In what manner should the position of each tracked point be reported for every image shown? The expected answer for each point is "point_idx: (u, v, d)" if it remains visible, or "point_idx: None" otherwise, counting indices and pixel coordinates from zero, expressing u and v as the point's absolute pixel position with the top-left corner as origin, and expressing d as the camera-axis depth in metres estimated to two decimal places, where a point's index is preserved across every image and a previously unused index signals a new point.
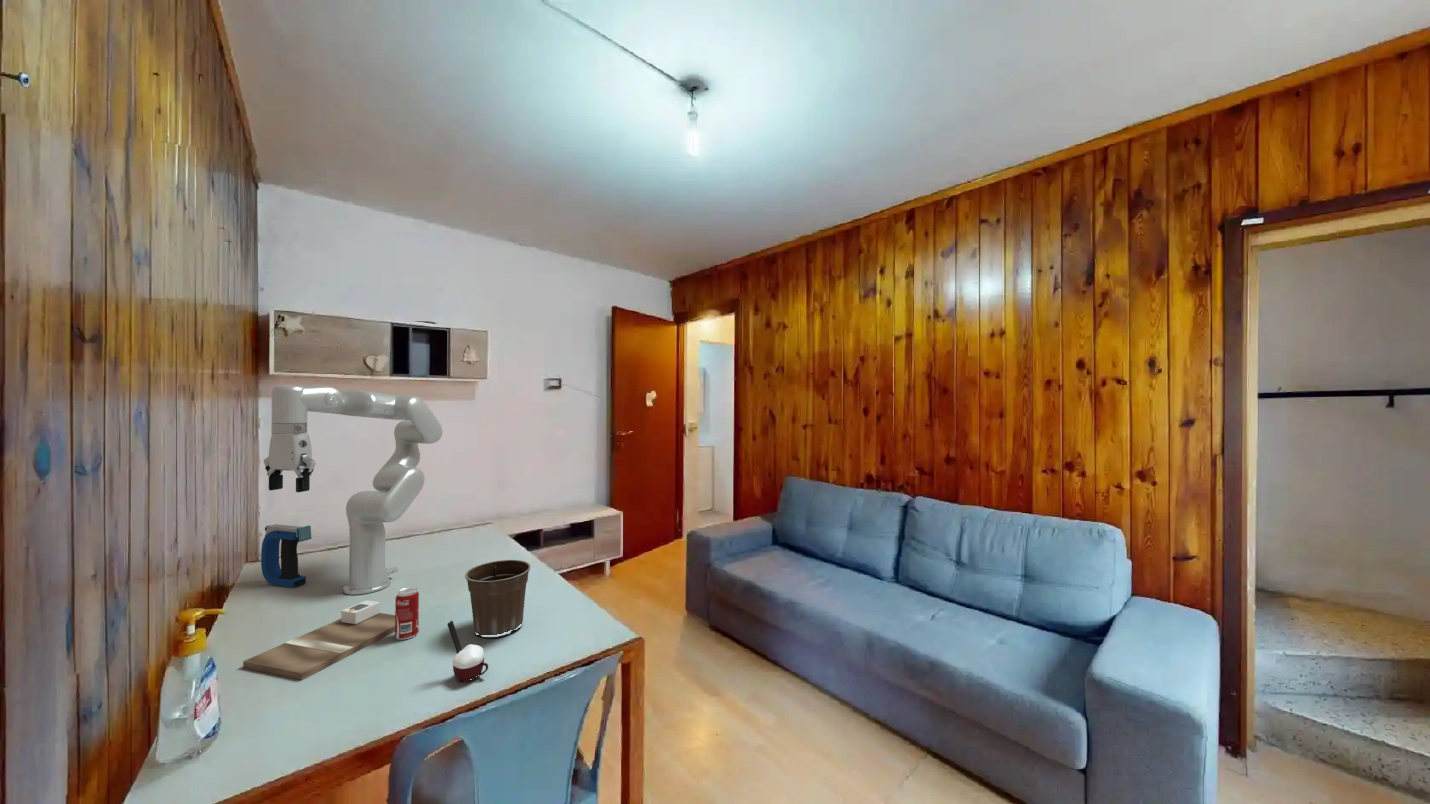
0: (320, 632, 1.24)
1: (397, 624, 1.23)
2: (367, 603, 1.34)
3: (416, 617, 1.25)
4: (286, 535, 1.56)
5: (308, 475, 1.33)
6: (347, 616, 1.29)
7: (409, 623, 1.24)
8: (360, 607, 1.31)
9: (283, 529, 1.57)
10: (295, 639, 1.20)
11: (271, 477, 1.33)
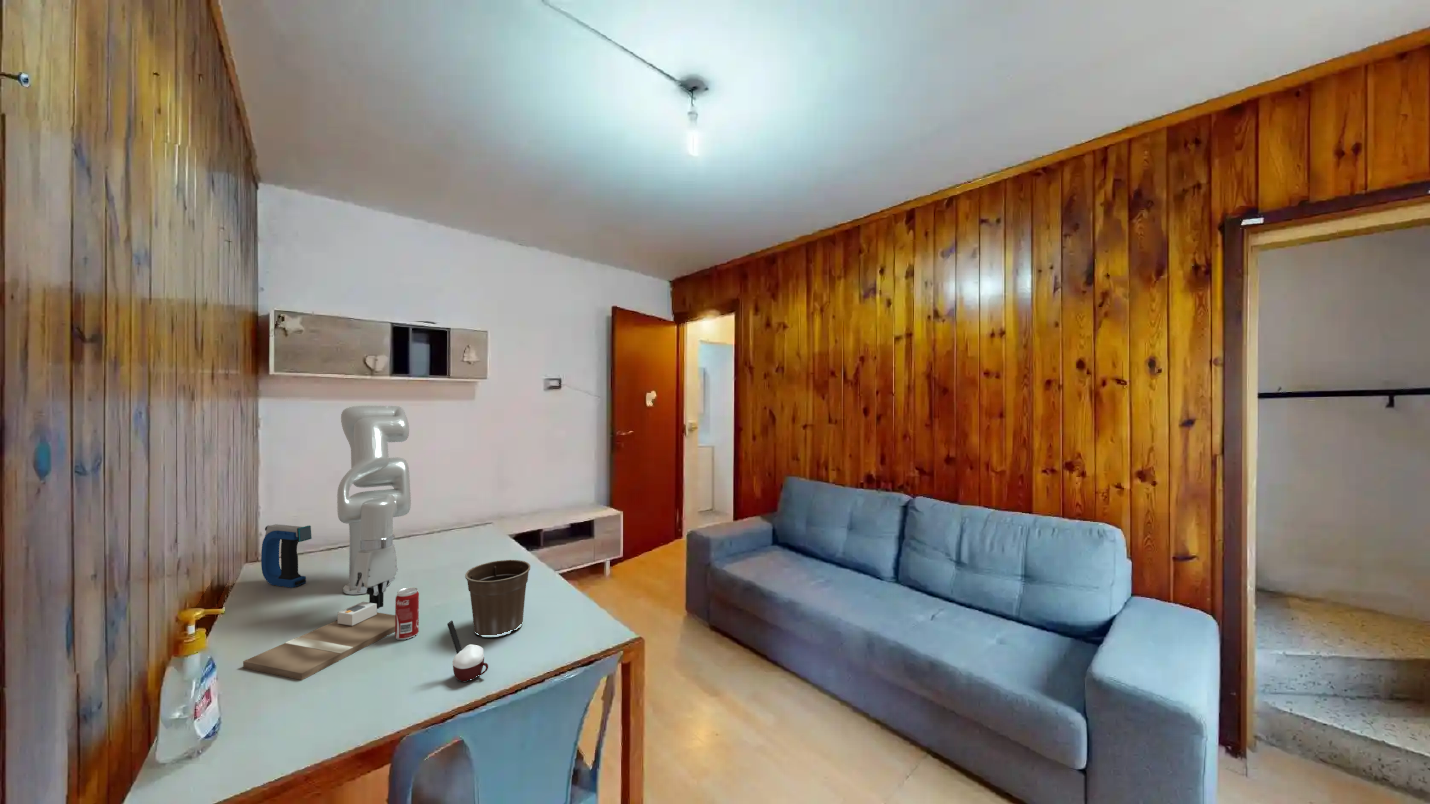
0: (320, 632, 1.24)
1: (397, 624, 1.23)
2: (364, 604, 1.33)
3: (416, 617, 1.25)
4: (286, 535, 1.56)
5: None
6: (343, 618, 1.28)
7: (409, 623, 1.24)
8: (357, 608, 1.30)
9: (283, 529, 1.57)
10: (295, 639, 1.20)
11: None
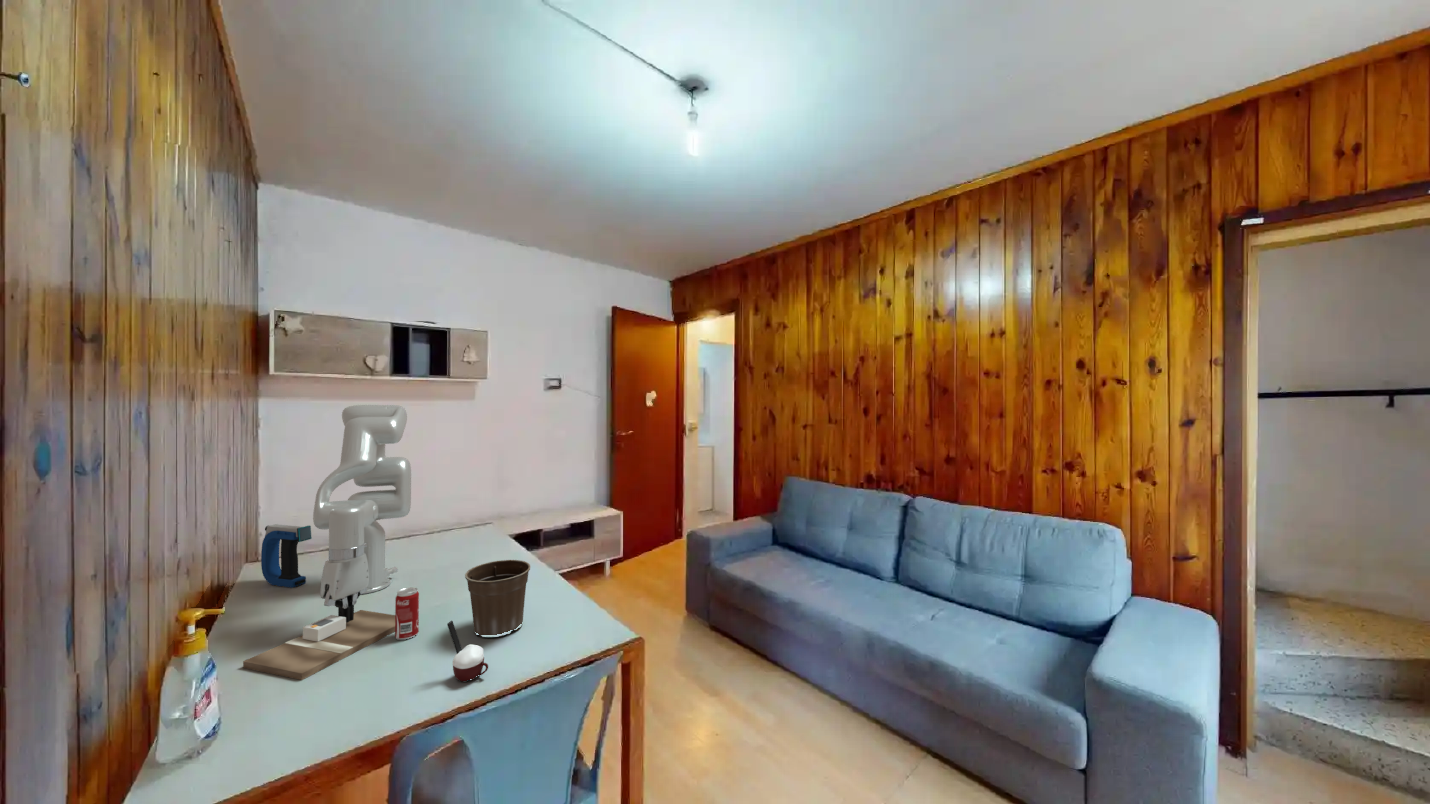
0: None
1: (397, 624, 1.23)
2: (332, 618, 1.25)
3: (416, 617, 1.25)
4: (286, 535, 1.56)
5: None
6: (309, 633, 1.19)
7: (409, 623, 1.24)
8: (324, 623, 1.22)
9: (283, 529, 1.57)
10: (295, 639, 1.20)
11: None
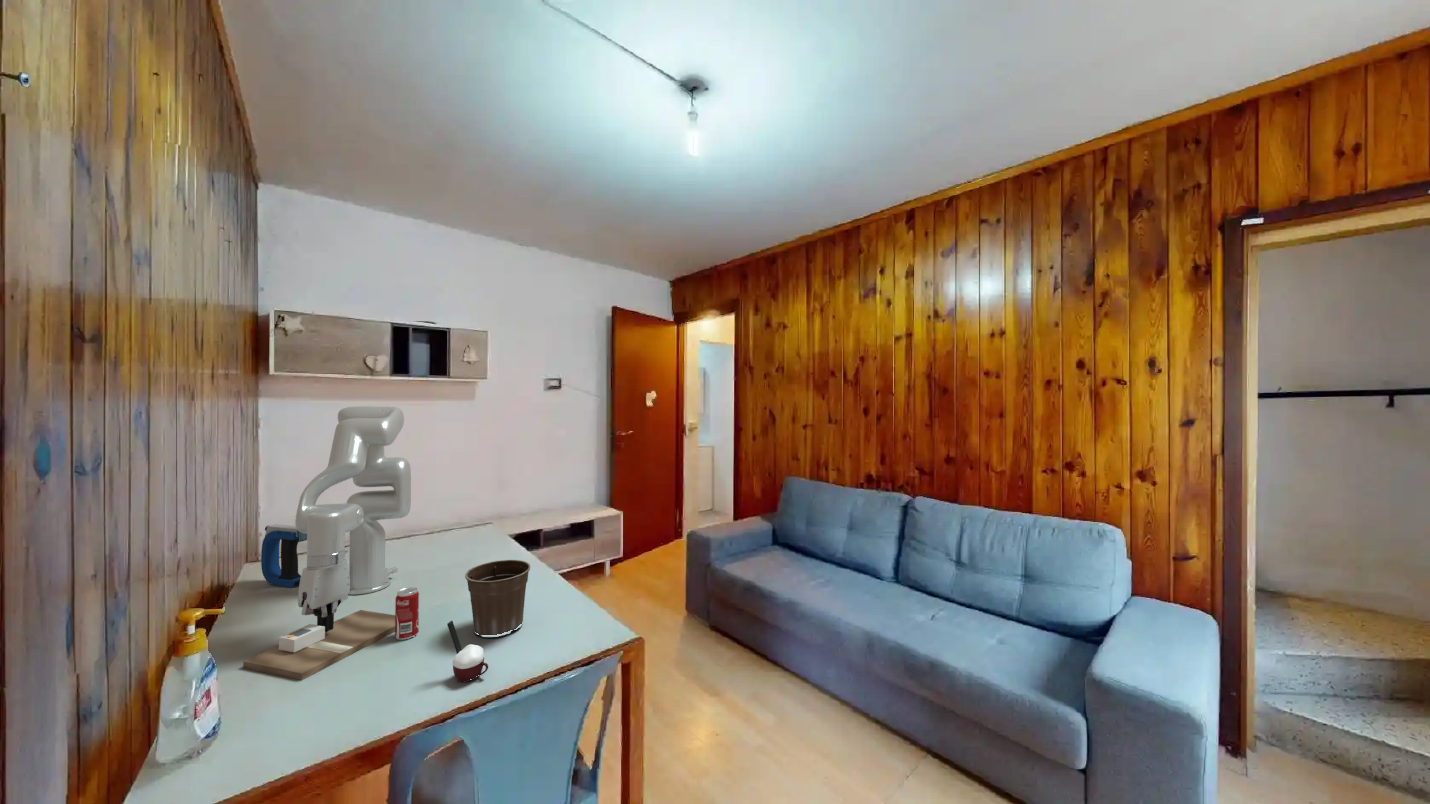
0: None
1: (397, 624, 1.23)
2: (310, 627, 1.20)
3: (416, 617, 1.25)
4: (286, 535, 1.56)
5: None
6: (285, 644, 1.14)
7: (409, 623, 1.24)
8: (301, 633, 1.17)
9: (283, 529, 1.57)
10: None
11: None
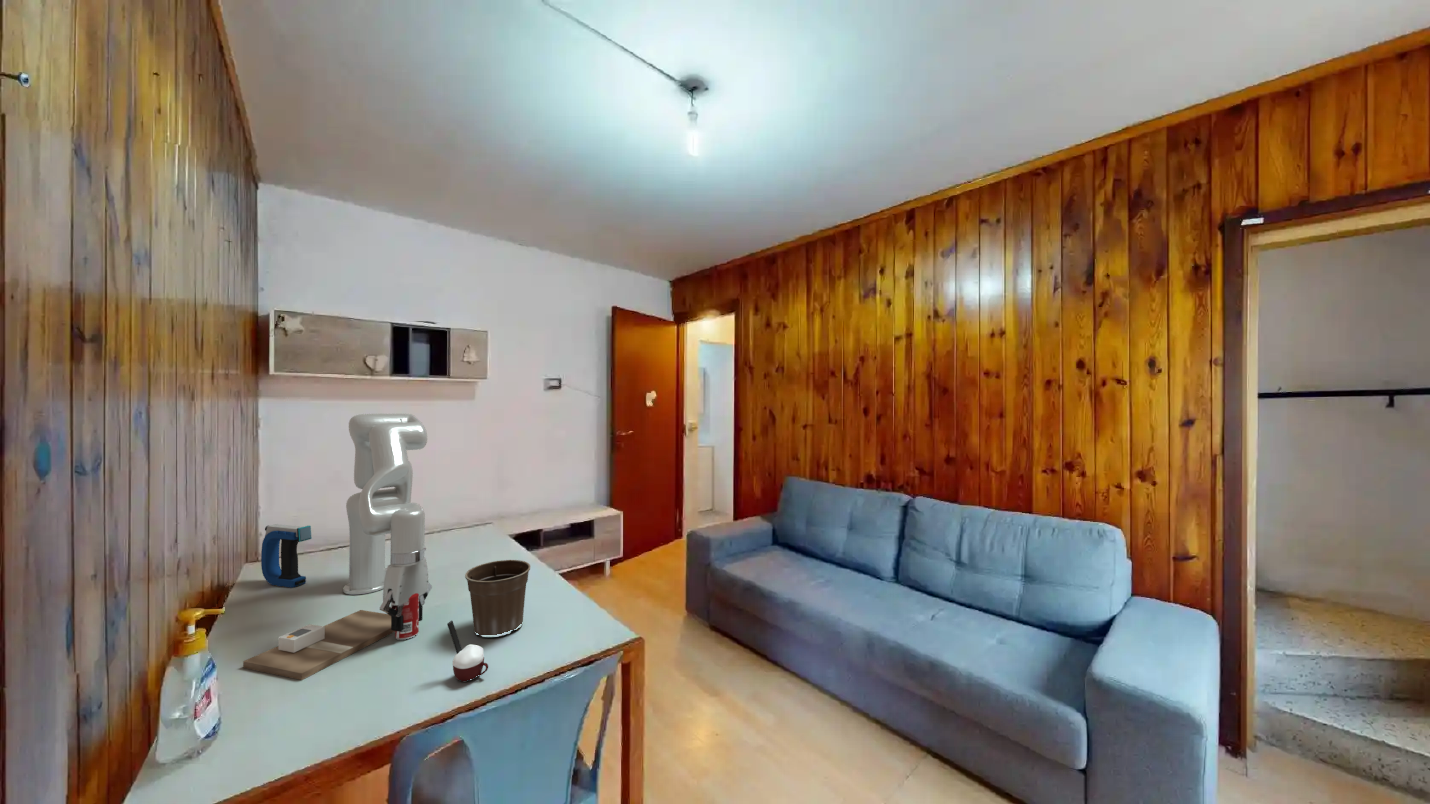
0: None
1: None
2: (310, 628, 1.19)
3: (416, 617, 1.25)
4: (286, 535, 1.56)
5: None
6: (285, 644, 1.14)
7: (409, 623, 1.24)
8: (301, 633, 1.17)
9: (283, 529, 1.57)
10: None
11: None
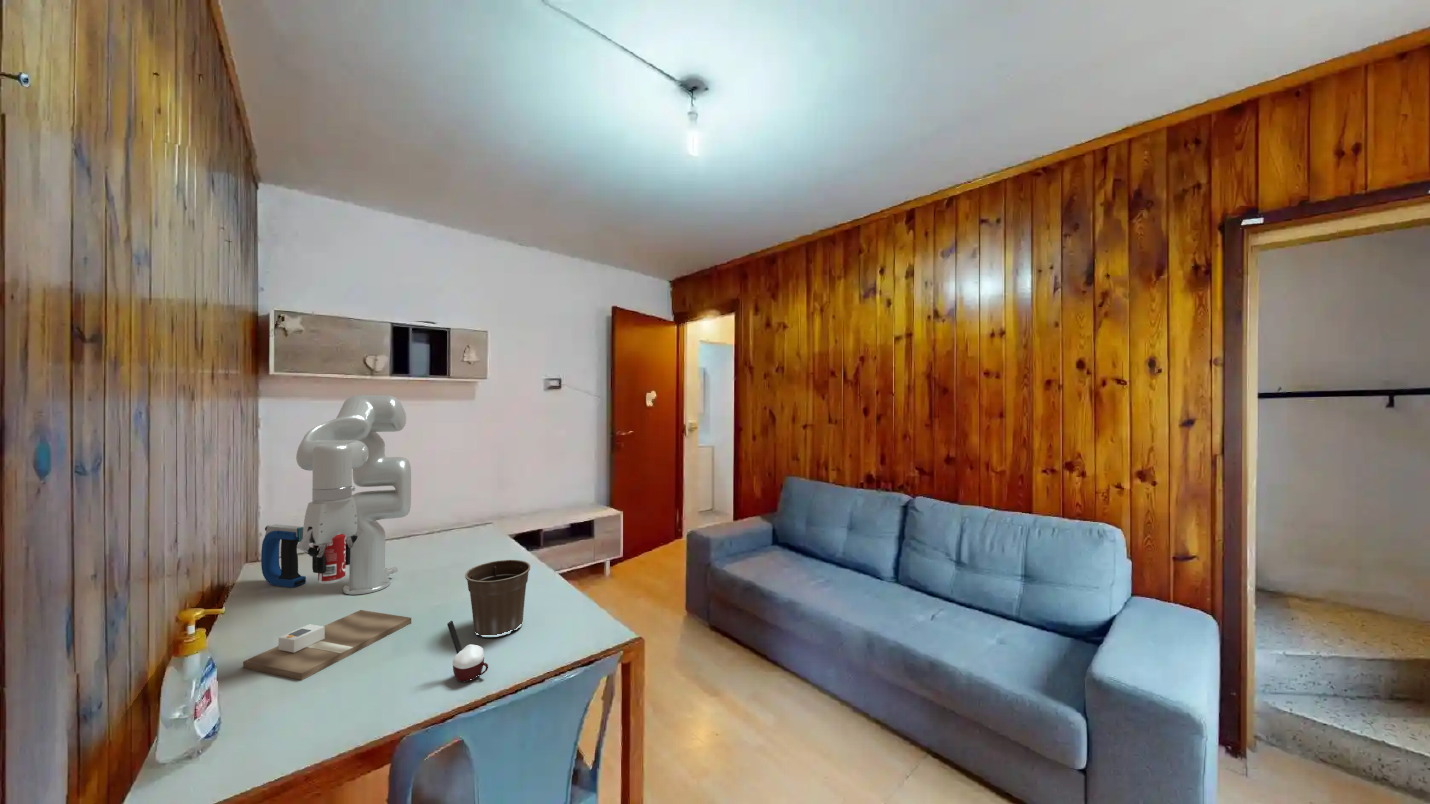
0: None
1: None
2: (310, 628, 1.19)
3: (342, 559, 1.16)
4: (286, 535, 1.56)
5: None
6: (285, 644, 1.14)
7: (333, 565, 1.15)
8: (301, 633, 1.17)
9: (283, 529, 1.57)
10: None
11: None
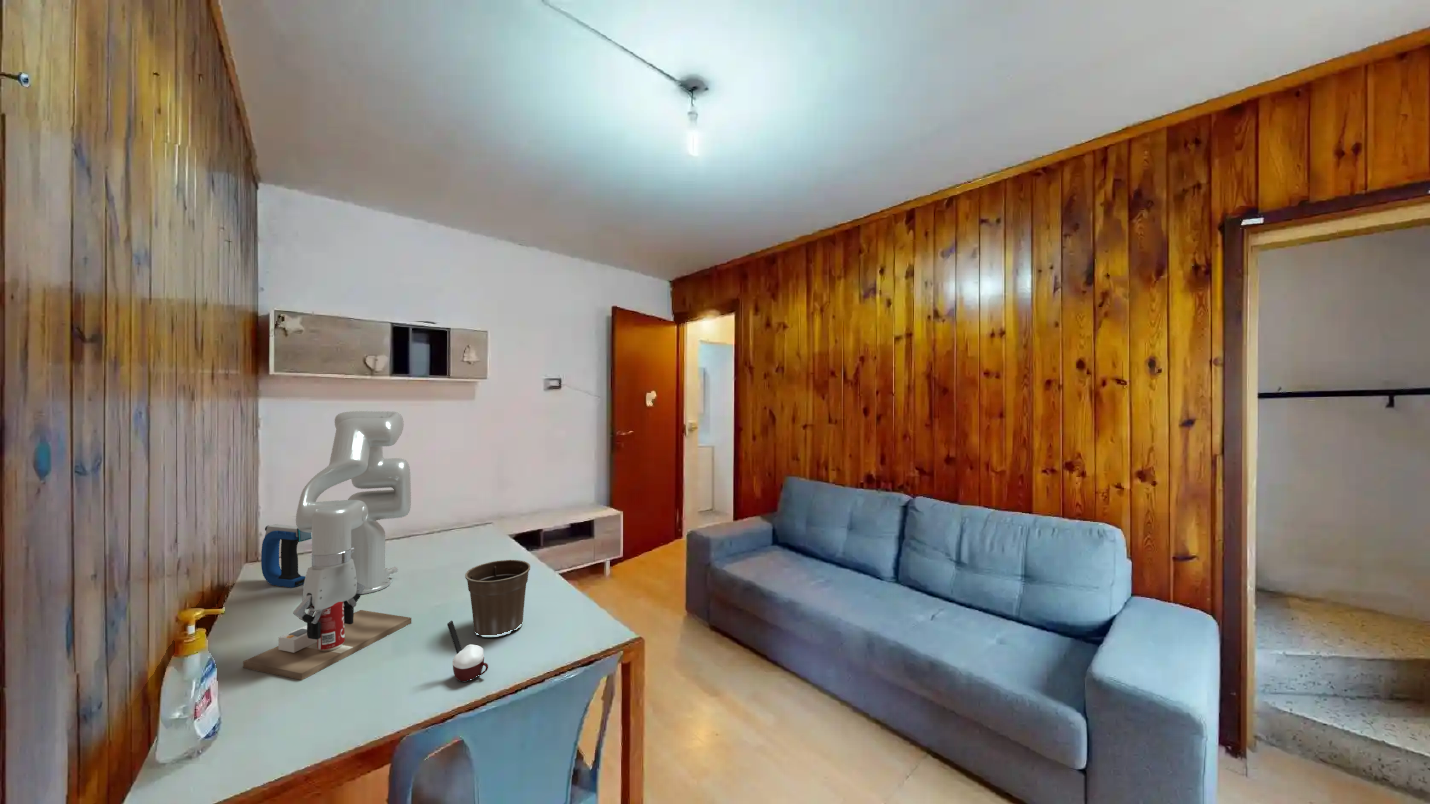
0: None
1: None
2: None
3: (340, 626, 1.16)
4: (286, 535, 1.56)
5: None
6: (285, 644, 1.14)
7: (332, 633, 1.15)
8: (301, 633, 1.17)
9: (283, 529, 1.57)
10: None
11: None
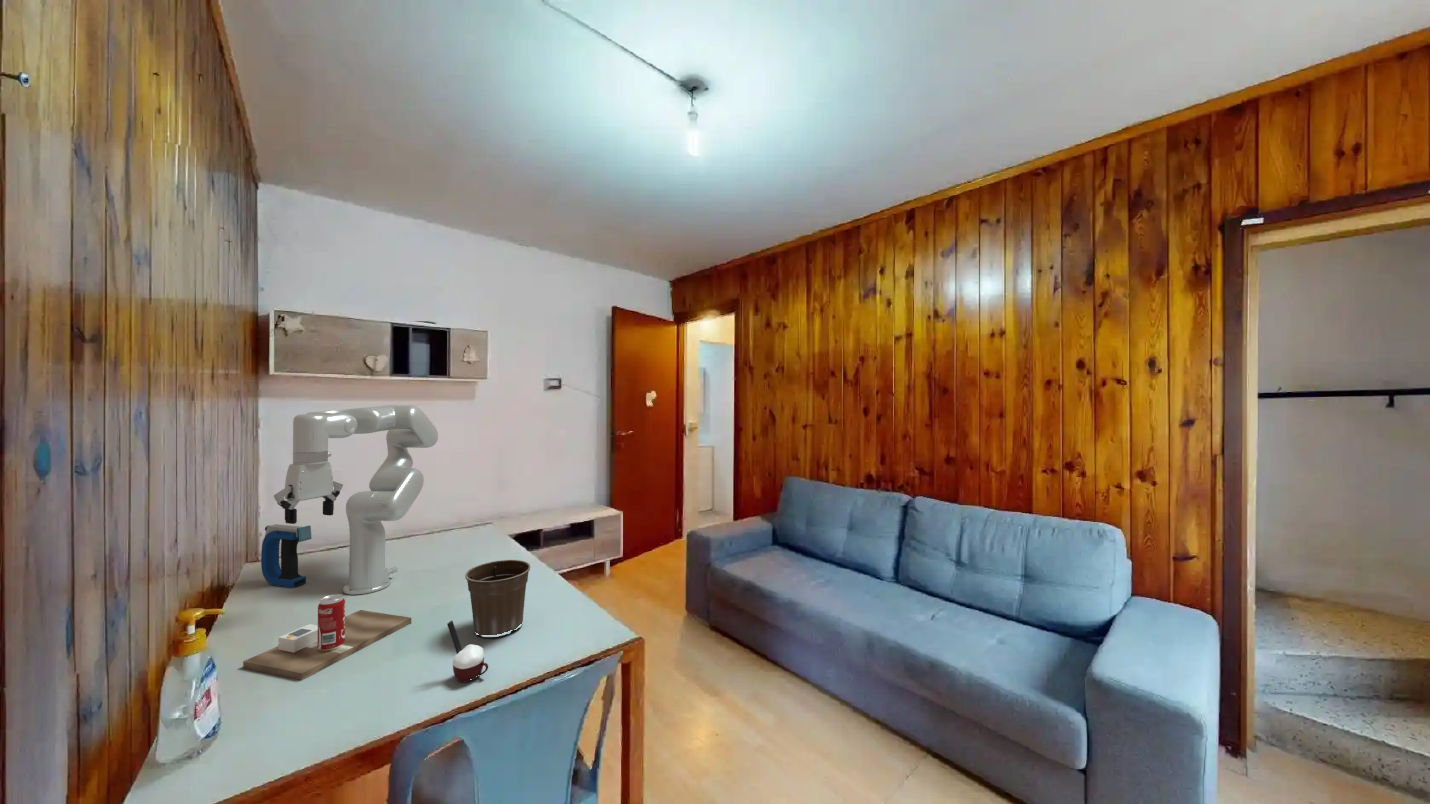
0: None
1: (319, 634, 1.14)
2: (310, 628, 1.19)
3: (341, 627, 1.16)
4: (286, 535, 1.56)
5: None
6: (285, 644, 1.14)
7: (333, 633, 1.15)
8: (301, 633, 1.17)
9: (283, 529, 1.57)
10: None
11: None
